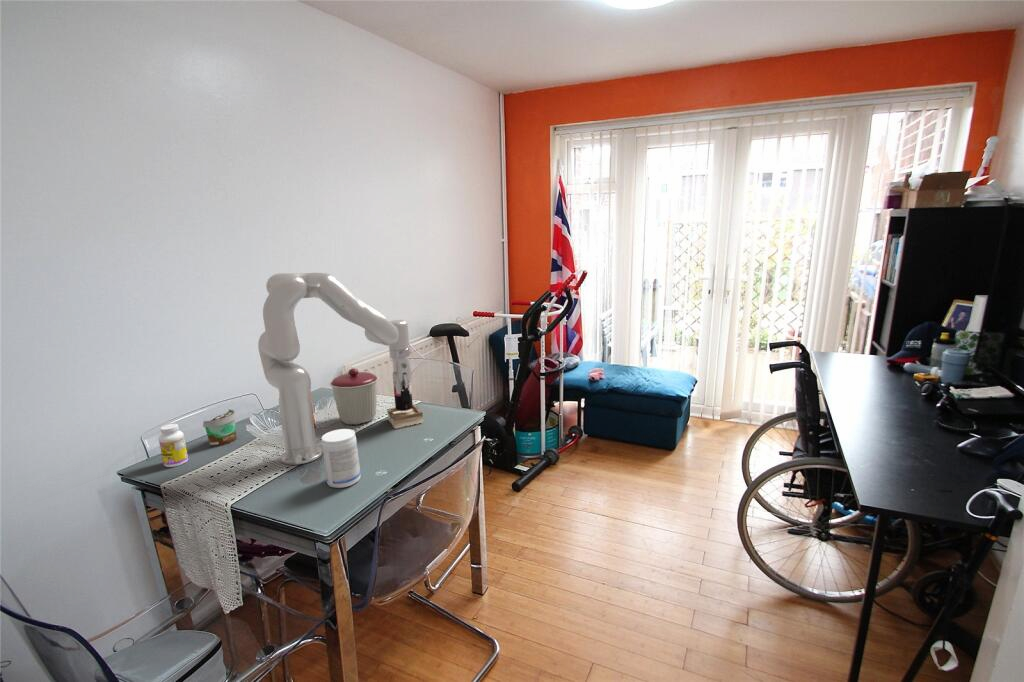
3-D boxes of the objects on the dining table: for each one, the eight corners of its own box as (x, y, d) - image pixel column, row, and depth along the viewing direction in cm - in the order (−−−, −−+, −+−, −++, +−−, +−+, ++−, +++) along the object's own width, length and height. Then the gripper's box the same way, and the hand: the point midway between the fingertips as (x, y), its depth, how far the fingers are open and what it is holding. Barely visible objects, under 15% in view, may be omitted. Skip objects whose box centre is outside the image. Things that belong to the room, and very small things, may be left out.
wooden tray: (423, 423, 182) (422, 412, 181) (394, 428, 177) (393, 418, 176) (415, 413, 192) (414, 404, 191) (388, 419, 187) (387, 409, 186)
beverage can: (393, 411, 180) (390, 374, 177) (398, 405, 187) (395, 369, 183) (410, 411, 180) (407, 373, 177) (414, 405, 186) (411, 369, 183)
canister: (386, 410, 196) (381, 361, 192) (376, 427, 179) (371, 374, 174) (341, 412, 195) (336, 363, 191) (328, 430, 178) (321, 376, 173)
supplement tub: (367, 476, 142) (363, 431, 139) (344, 492, 134) (339, 444, 131) (343, 470, 146) (338, 426, 143) (319, 485, 138) (313, 438, 135)
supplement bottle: (159, 466, 153) (151, 429, 150) (179, 457, 159) (172, 421, 156) (173, 469, 150) (165, 431, 147) (193, 460, 156) (186, 423, 154)
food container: (222, 449, 164) (217, 422, 161) (207, 448, 165) (202, 421, 163) (248, 435, 175) (244, 409, 173) (233, 434, 177) (229, 408, 174)
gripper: (415, 356, 173) (419, 402, 176) (403, 347, 188) (407, 389, 192) (395, 359, 169) (399, 406, 173) (384, 349, 184) (388, 393, 188)
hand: (403, 397), depth 182 cm, fingers closed on beverage can, 6 cm apart
